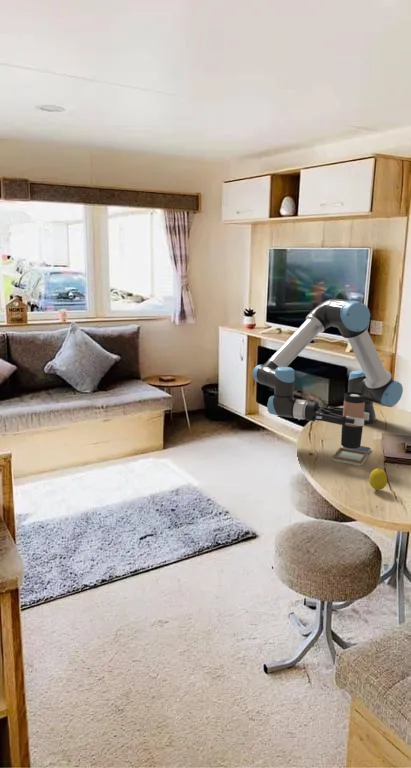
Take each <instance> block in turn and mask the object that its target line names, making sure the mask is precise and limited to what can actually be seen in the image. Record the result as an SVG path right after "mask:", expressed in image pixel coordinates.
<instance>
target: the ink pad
mask: <svg viewBox="0 0 411 768" xmlns="http://www.w3.org/2000/svg"><path fill="white" fill-rule="evenodd" d="M342 448H346V447H343V446H342ZM347 449H352V450H358V451H364V452H368V454H367V456H368V455H369V453H370V452H371V450H372V448H371V447H369V446H364V445H360V447H359V448H354V449H353V448H347Z"/></svg>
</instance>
